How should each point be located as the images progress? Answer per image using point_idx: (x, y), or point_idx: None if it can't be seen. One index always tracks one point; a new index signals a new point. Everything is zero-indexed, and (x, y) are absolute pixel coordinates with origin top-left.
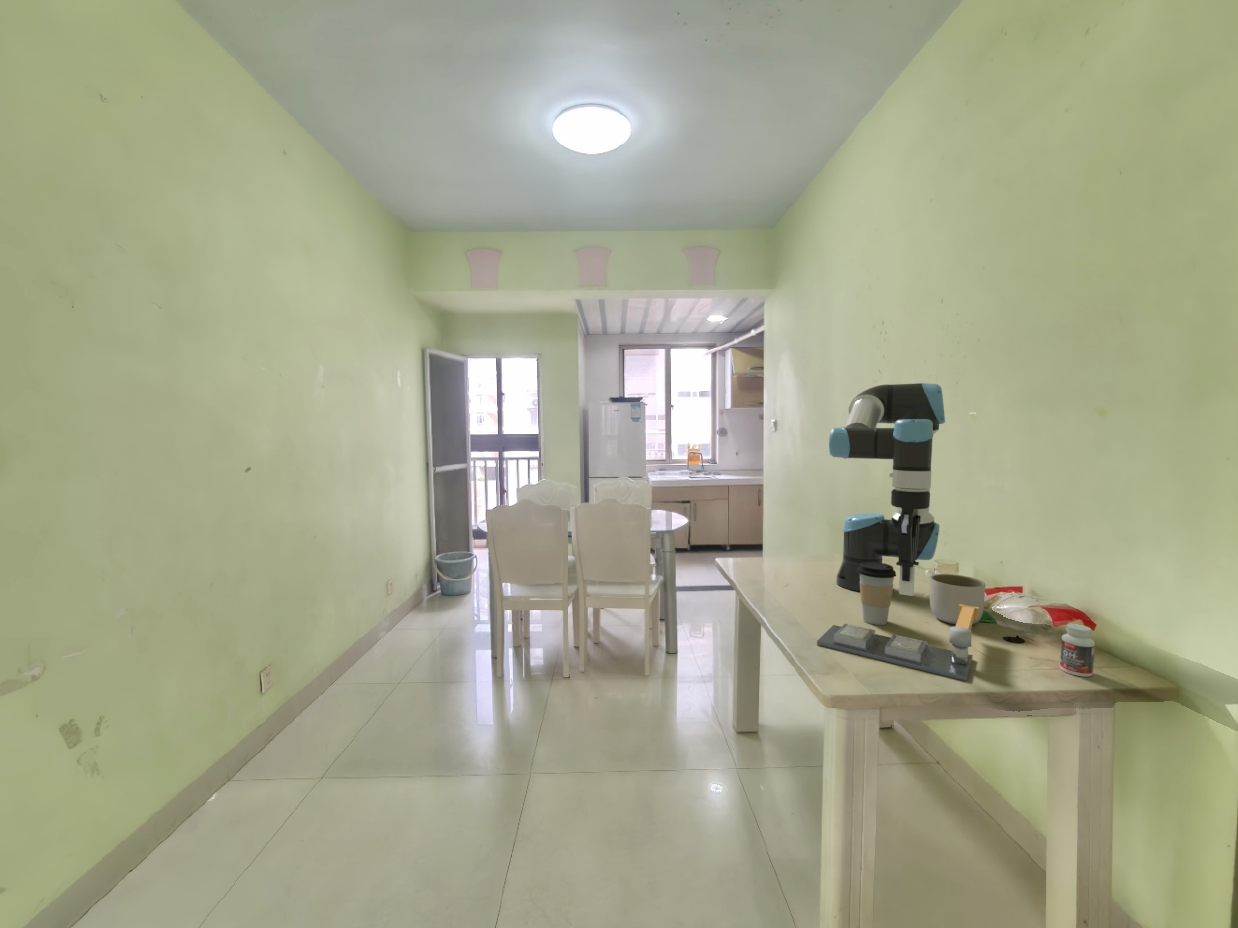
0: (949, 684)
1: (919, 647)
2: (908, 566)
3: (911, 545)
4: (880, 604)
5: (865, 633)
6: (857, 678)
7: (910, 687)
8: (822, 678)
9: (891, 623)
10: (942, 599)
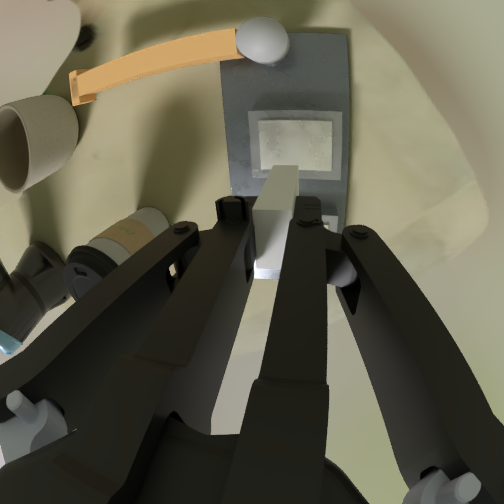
0: (379, 61)
1: (300, 118)
2: (330, 235)
3: (414, 325)
4: (148, 234)
5: None
6: (438, 201)
7: (431, 122)
8: (455, 243)
9: (141, 200)
10: (55, 149)
